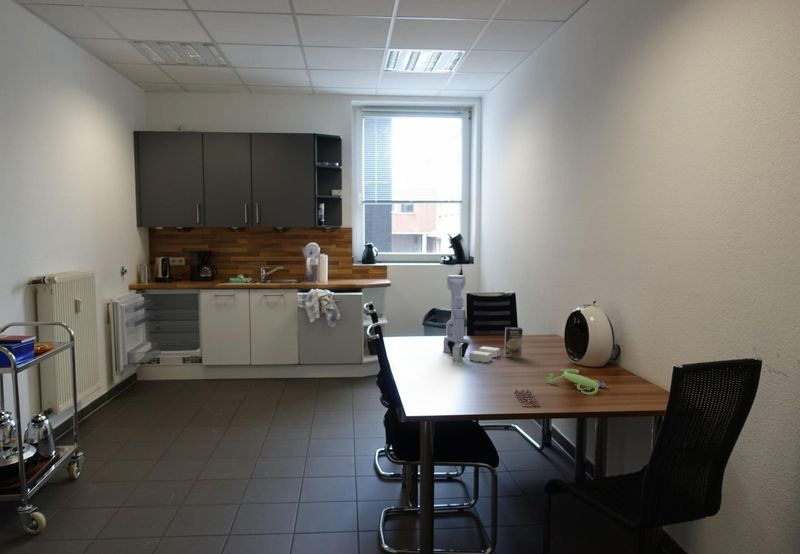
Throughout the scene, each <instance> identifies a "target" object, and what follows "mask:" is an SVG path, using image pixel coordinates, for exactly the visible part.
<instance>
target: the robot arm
mask: <svg viewBox="0 0 800 554" xmlns="http://www.w3.org/2000/svg"><path fill="white" fill-rule="evenodd" d="M446 283H447V284H446V287H447V290H448V291H450V294H451V296H450V297H451V298H450V299H451V305H450V306H451V310H450V311H451V318H450V319H449V320H448V321H447V322H446V323H445V324H446V326H445V336H444V337H443V350H442V352H443V353H448V354H449V353H450V356H451V357H452V356H453V346H455V345H461V347H462V357H463V358H465V356H466V353H467V349H468V347H469V346H470V345H472V343H473V341H472V339H466V338H464V337H465V319H466V308H465V303H464V299H463V297H462V291H463V290H464V288H465V286H466V276H465V275H464V274H463V275H462V274H461V275H457V274H455V275H454V274H453V275H451V274H448V275H447V276H446Z"/></svg>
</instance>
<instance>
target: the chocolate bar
mask: <svg viewBox="0 0 800 554" xmlns="http://www.w3.org/2000/svg"><path fill="white" fill-rule="evenodd" d="M513 393H514V395H515V394H516V395H515V397H516V396H517V397H516V399H517V398H518V399H517V401H518V402H519V401H521V402H519V403H522V405H532V406H540V407H541V404H540V403H539V402H538V400H537V398H536V396H534V394H533V392H532V391H531V390H529V389H526V390H525V389H521V390H518V389H515V390H514V392H513Z"/></svg>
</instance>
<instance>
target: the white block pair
mask: <svg viewBox="0 0 800 554" xmlns="http://www.w3.org/2000/svg"><path fill="white" fill-rule="evenodd" d="M499 355H500V356H501V348H500V347H491V346H481V347H478V350H473V351H471V352H469V361H471V360H473V361H472V362H478V361H481V362H480V363H485V362H488V361H489V362H491V361H492V358H494V357H496V358H498V357H500V356H499ZM497 356H498V357H497ZM490 360H491V361H490ZM489 362H488V363H489Z"/></svg>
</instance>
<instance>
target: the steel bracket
mask: <svg viewBox="0 0 800 554" xmlns="http://www.w3.org/2000/svg"><path fill="white" fill-rule="evenodd" d="M451 357H452V360H451V361H452V362H455V361H458V362H457V363H460V361H461V362H463V361H464V357H462V347H461V345H455V346H453V356H451ZM462 360H463V361H462Z"/></svg>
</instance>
